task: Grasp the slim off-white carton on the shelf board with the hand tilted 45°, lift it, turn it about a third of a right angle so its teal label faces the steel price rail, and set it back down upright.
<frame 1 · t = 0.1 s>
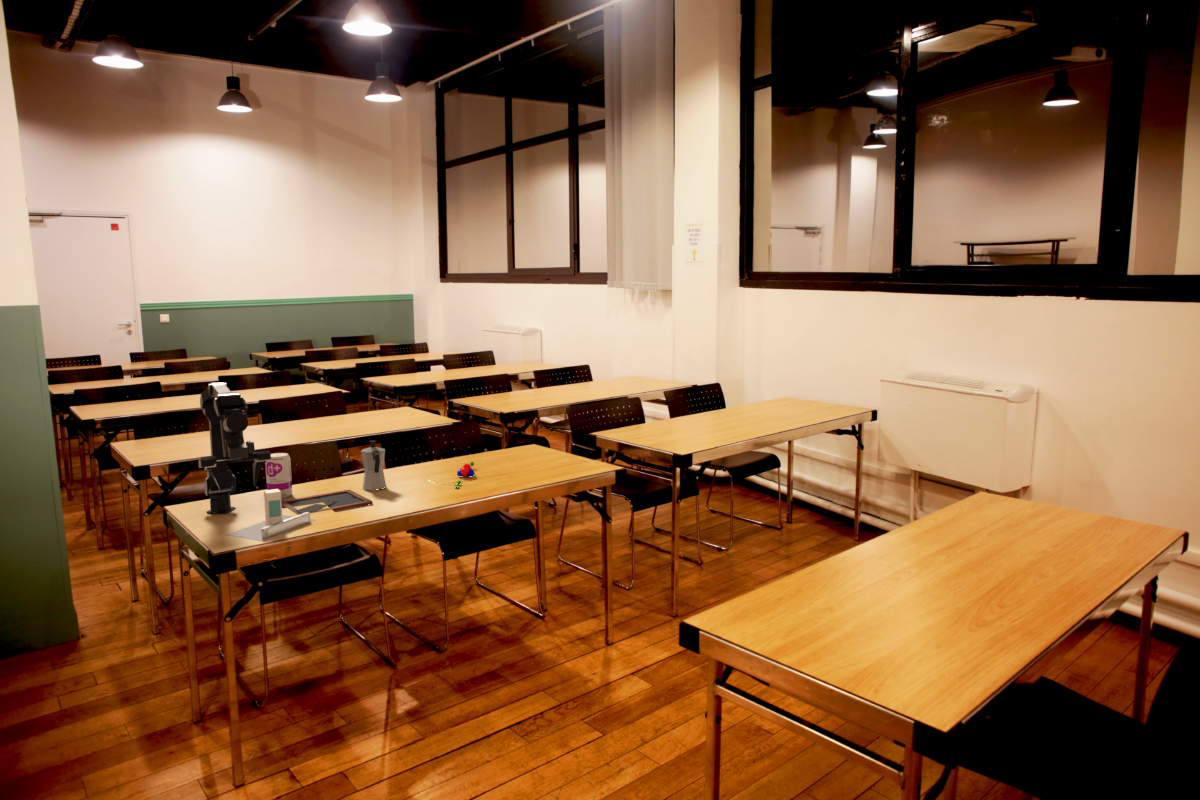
hand: (238, 488, 223), 15 cm above the table, tool pointing down, fingers open, 9 cm apart
carton: (274, 527, 232), point 1 cm above the table, touching shelf board
price rail: (287, 532, 231), resting on shelf board
supplement can: (280, 496, 272), on the table
atom model: (465, 477, 300), on the table
picture frame: (325, 506, 261), on the table
shelf board: (272, 530, 233), on the table
coffee maker: (375, 489, 282), on the table
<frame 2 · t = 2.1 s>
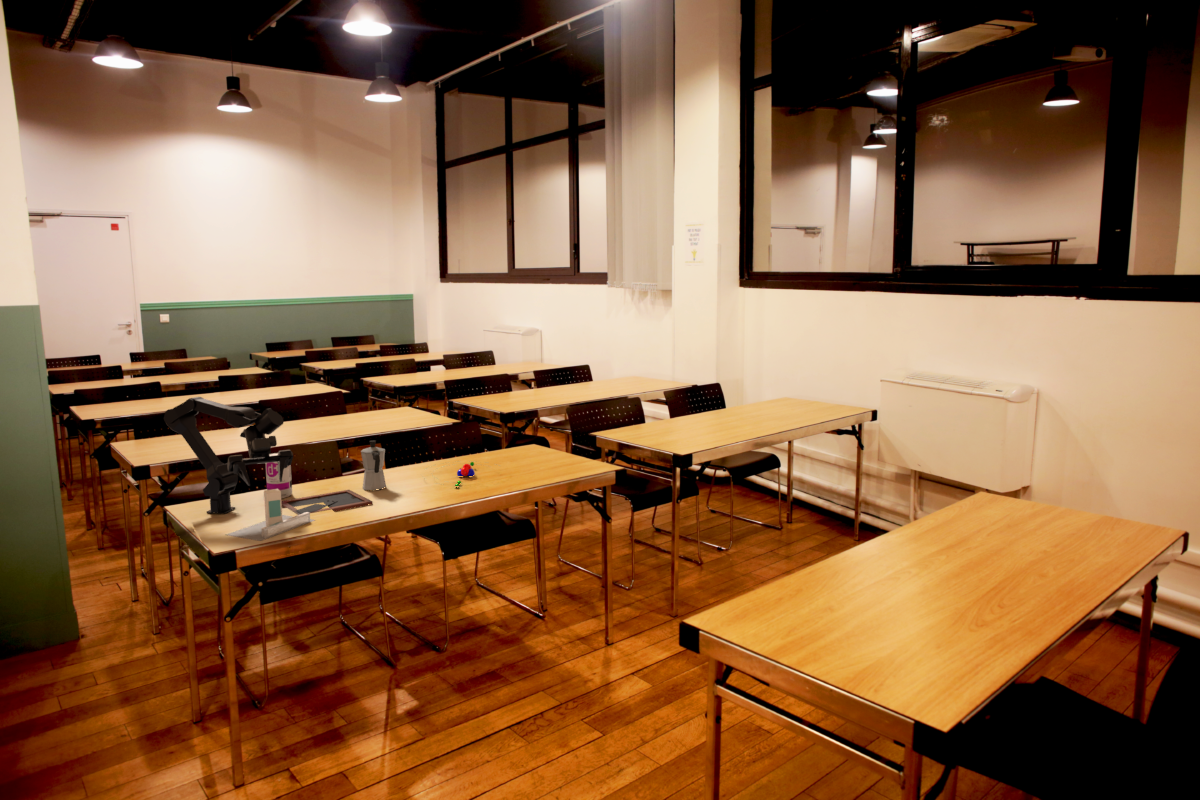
hand: (265, 483, 236), 13 cm above the table, tool tilted 45°, fingers open, 9 cm apart
nothing on the table moved.
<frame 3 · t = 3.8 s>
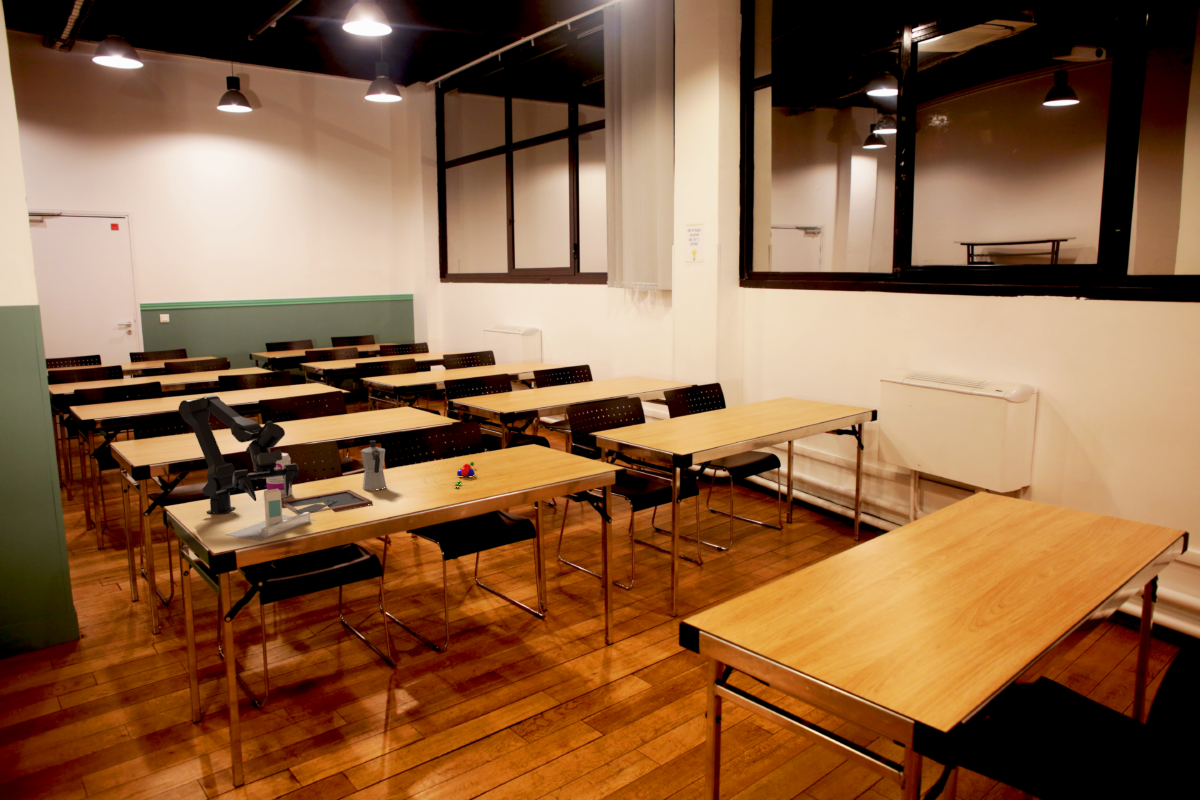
hand: (271, 497, 233), 10 cm above the table, tool tilted 45°, fingers open, 9 cm apart
nothing on the table moved.
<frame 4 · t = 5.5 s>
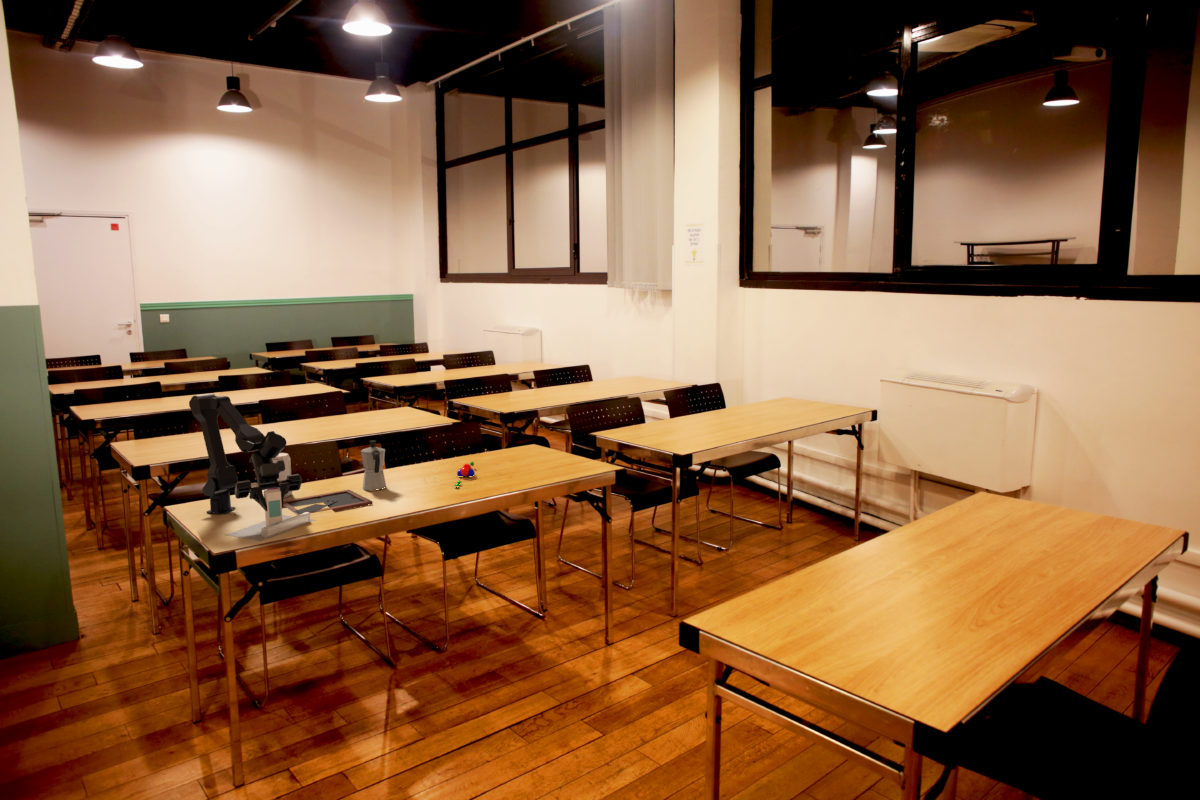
hand: (274, 509, 230), 7 cm above the table, tool tilted 45°, fingers closed on carton, 4 cm apart
carton: (274, 527, 232), point 1 cm above the table, touching gripper, shelf board
everything else where it was.
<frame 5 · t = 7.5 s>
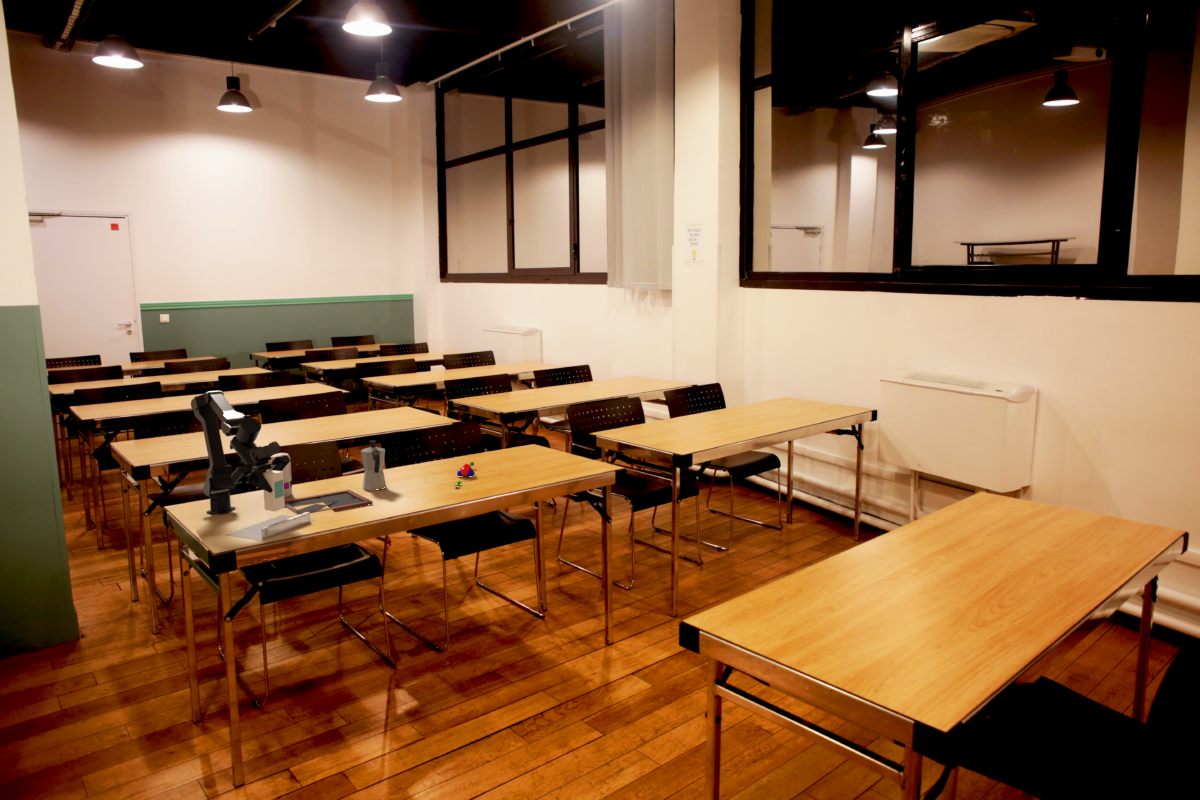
hand: (277, 490, 230), 13 cm above the table, tool tilted 45°, fingers closed on carton, 4 cm apart
carton: (274, 508, 232), point 7 cm above the table, touching gripper
everything else where it was.
when the fingers open (8 cm above the table, at t = 9.8 s): carton stays where it is, resting on shelf board.
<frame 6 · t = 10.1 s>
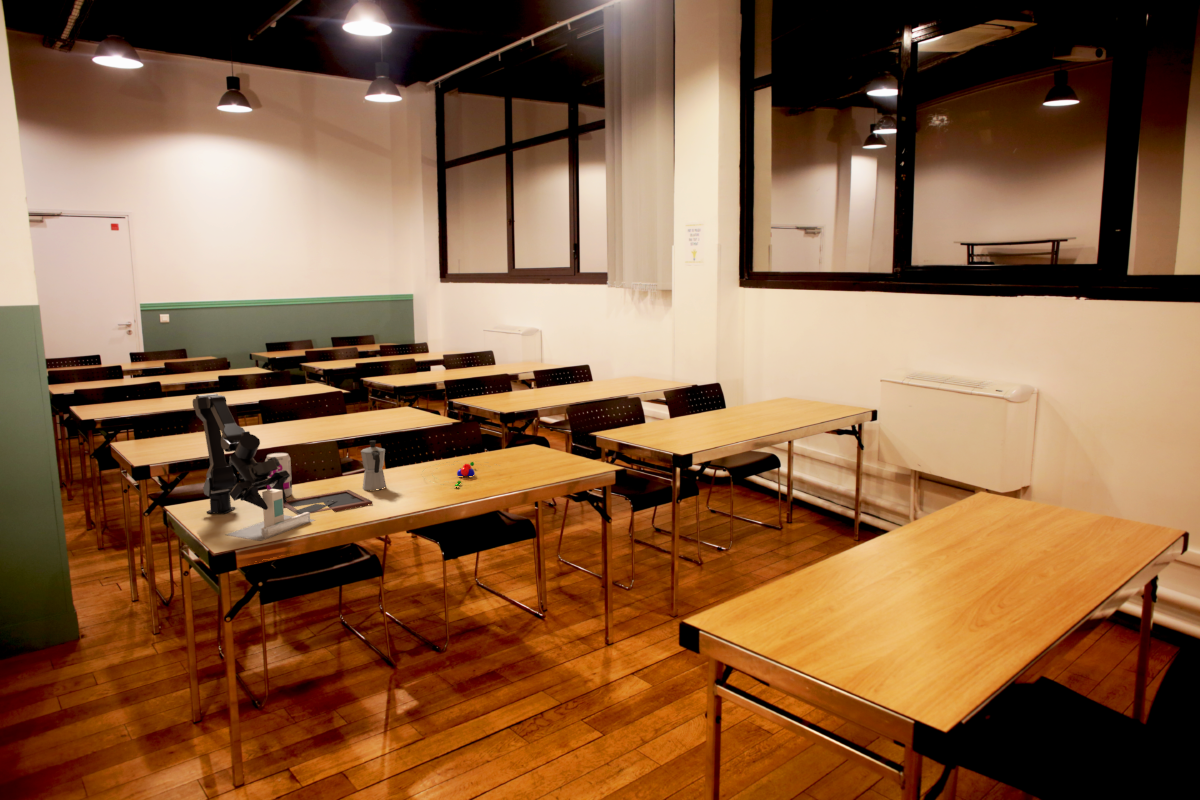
hand: (276, 505, 231), 8 cm above the table, tool tilted 45°, fingers open, 7 cm apart
carton: (274, 527, 232), point 1 cm above the table, touching shelf board
everything else where it was.
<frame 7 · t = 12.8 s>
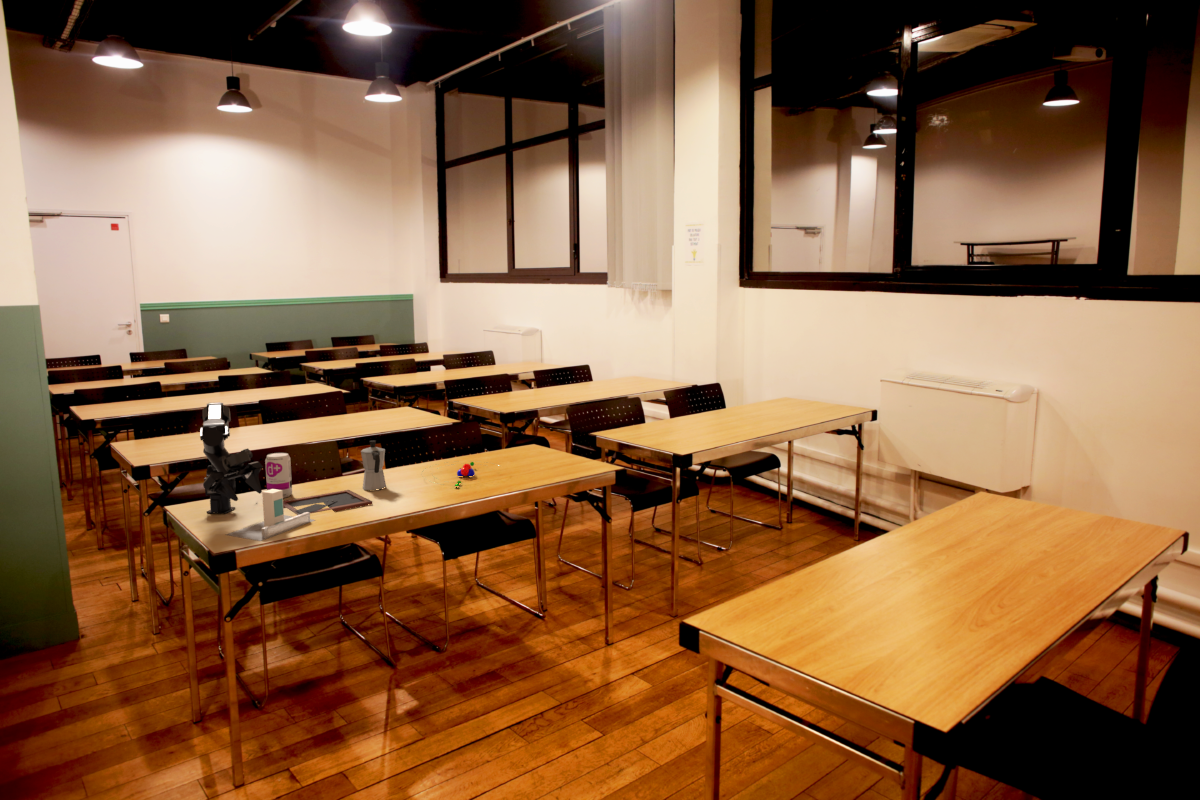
hand: (249, 496, 235), 10 cm above the table, tool tilted 45°, fingers open, 9 cm apart
nothing on the table moved.
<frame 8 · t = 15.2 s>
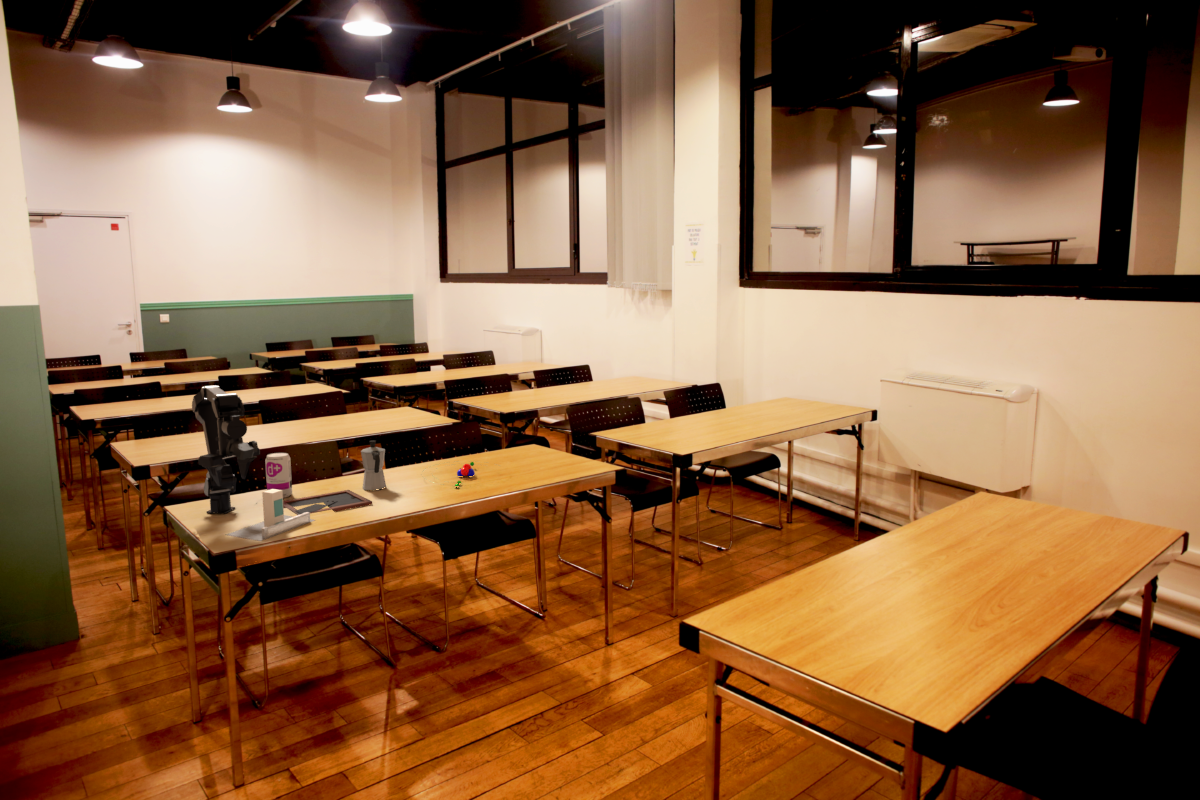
hand: (231, 482, 239), 13 cm above the table, tool pointing down, fingers open, 9 cm apart
nothing on the table moved.
at the end: carton 0.0 cm from the target spot, point 1.0 cm above the table; carton tilted 0°; the gripper is holding nothing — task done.
